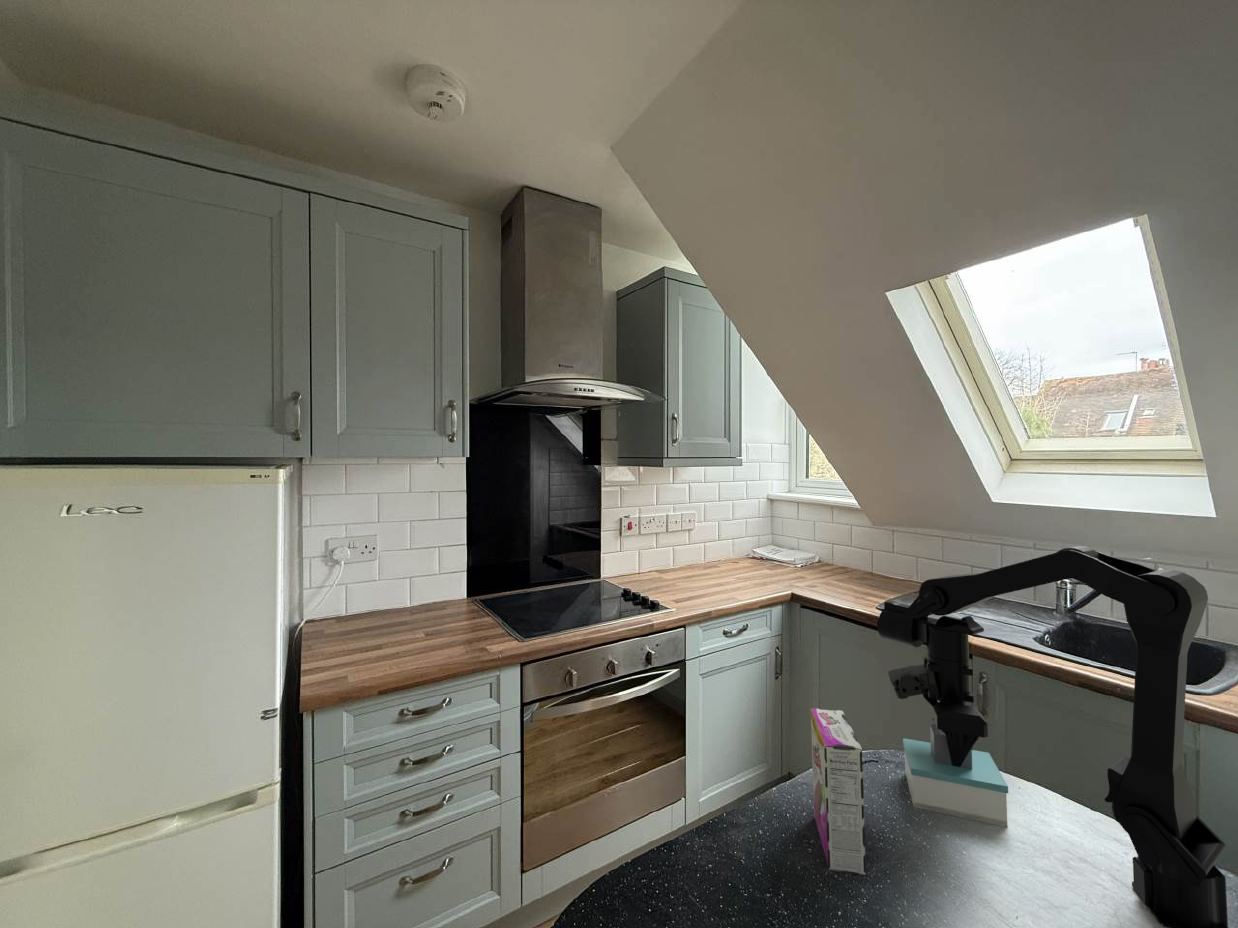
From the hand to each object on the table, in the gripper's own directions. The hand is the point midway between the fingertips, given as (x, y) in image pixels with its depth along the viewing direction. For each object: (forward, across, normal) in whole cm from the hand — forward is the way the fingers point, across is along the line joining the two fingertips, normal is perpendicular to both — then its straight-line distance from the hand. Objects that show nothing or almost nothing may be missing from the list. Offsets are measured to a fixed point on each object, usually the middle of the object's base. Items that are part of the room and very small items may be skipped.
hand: (950, 753), depth 80 cm
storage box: (+7, 0, 0) cm, 7 cm away
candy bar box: (+7, +18, -17) cm, 26 cm away
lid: (+3, 0, 0) cm, 3 cm away
